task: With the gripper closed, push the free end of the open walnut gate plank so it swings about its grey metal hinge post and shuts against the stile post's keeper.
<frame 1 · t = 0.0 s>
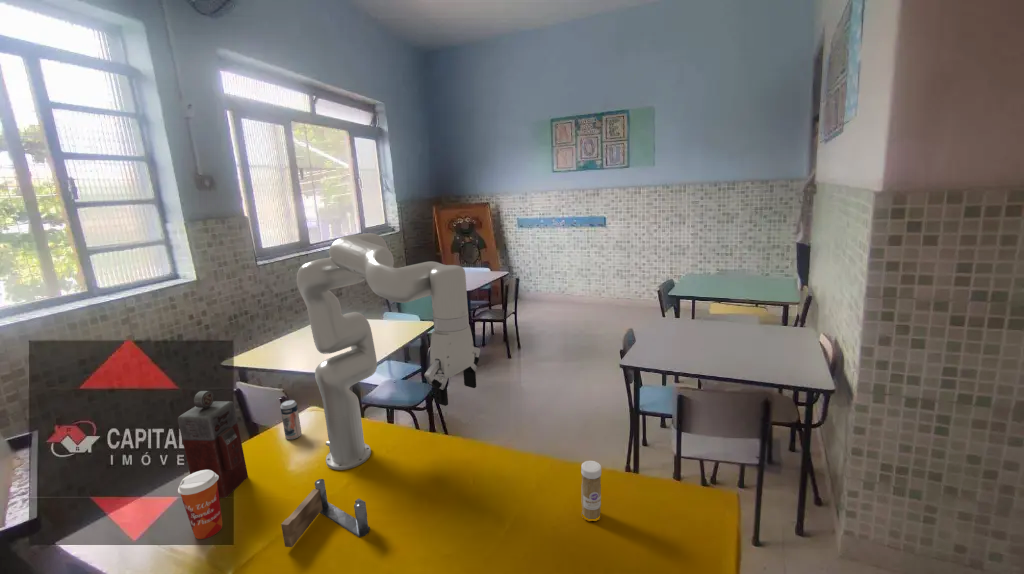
hand: (456, 395, 101), 31 cm above the table, fingers open, 9 cm apart
gate posts: (323, 508, 112), on the table
sprinkles bottle: (591, 516, 106), on the table
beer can: (293, 437, 146), on the table
gate: (303, 516, 104), point 4 cm above the table, hinge at -65.0°
vintage gas pump: (226, 487, 122), on the table
paper cup: (209, 530, 106), on the table
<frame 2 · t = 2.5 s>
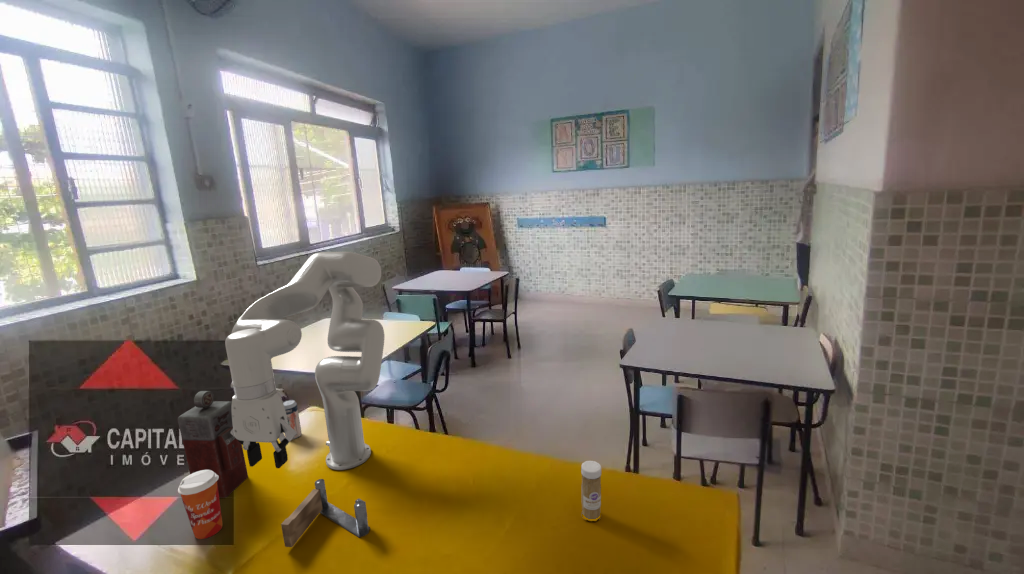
hand: (268, 462, 98), 20 cm above the table, fingers open, 5 cm apart
nothing on the table moved.
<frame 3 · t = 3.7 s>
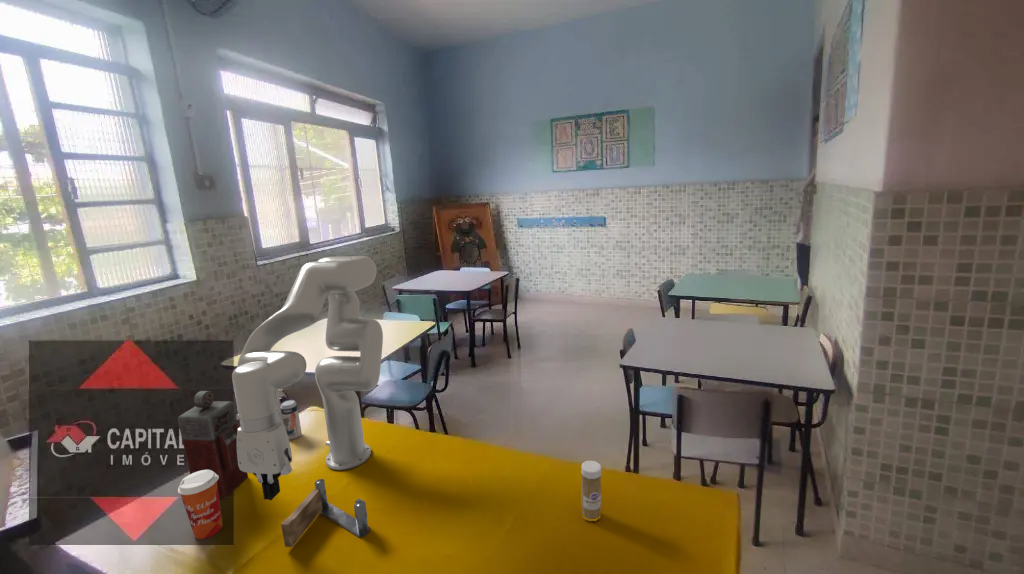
hand: (272, 495, 99), 12 cm above the table, fingers closed
nothing on the table moved.
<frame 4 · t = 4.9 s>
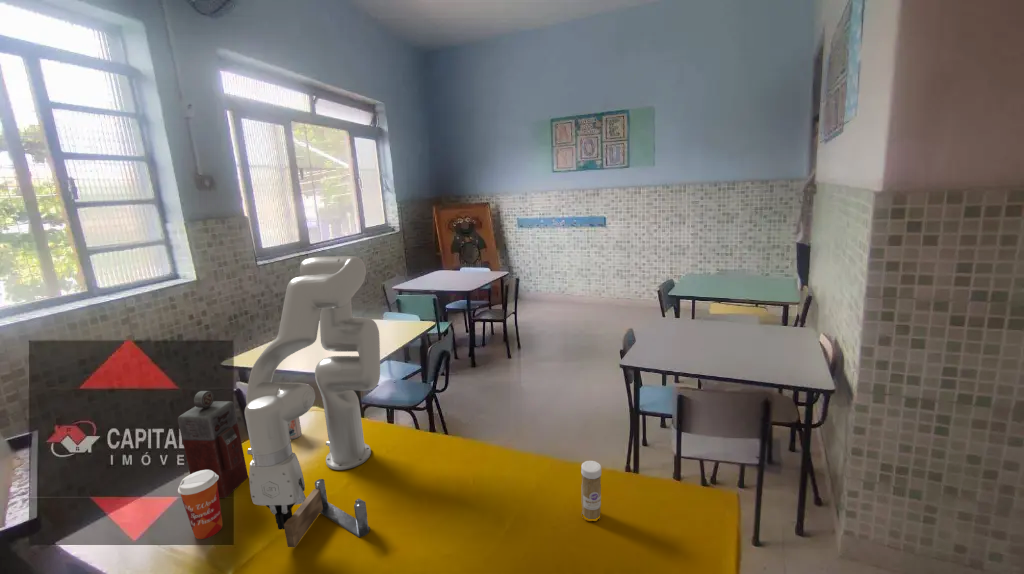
hand: (285, 524, 101), 4 cm above the table, fingers closed
gate: (304, 516, 104), point 4 cm above the table, hinge at -62.1°, touching gripper
everything else where it was.
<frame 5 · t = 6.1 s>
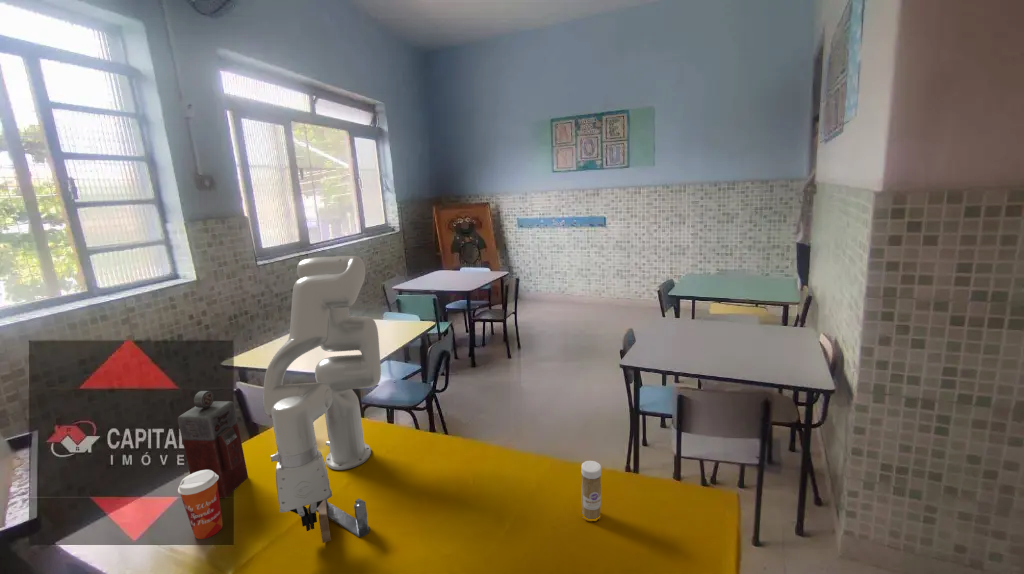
hand: (310, 526, 101), 4 cm above the table, fingers closed
gate: (323, 513, 105), point 4 cm above the table, hinge at -30.1°, touching gripper
everything else where it was.
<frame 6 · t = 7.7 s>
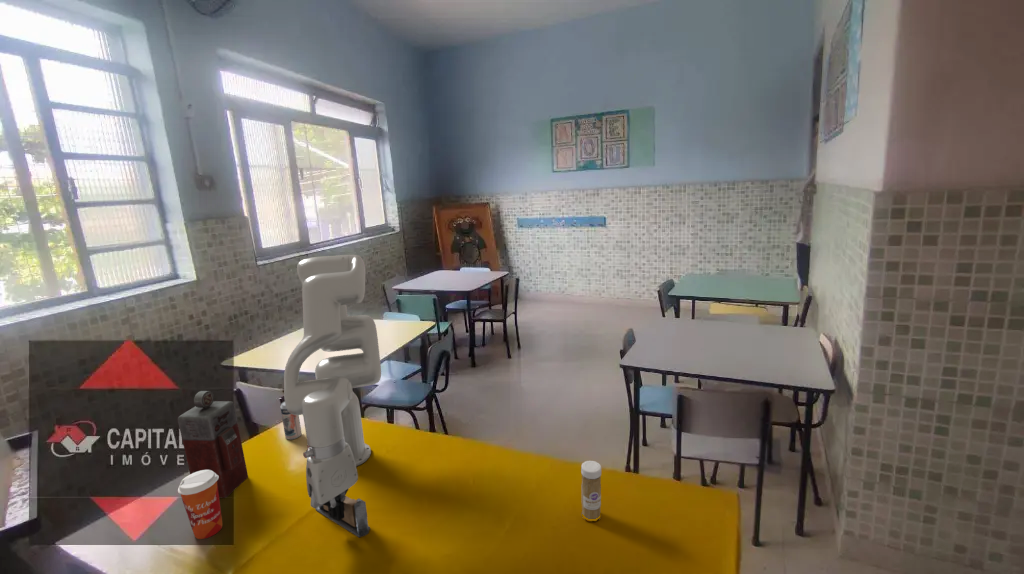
hand: (337, 517, 103), 4 cm above the table, fingers closed
gate: (340, 505, 107), point 4 cm above the table, hinge at 0.6°, touching gate posts, gripper
everything else where it was.
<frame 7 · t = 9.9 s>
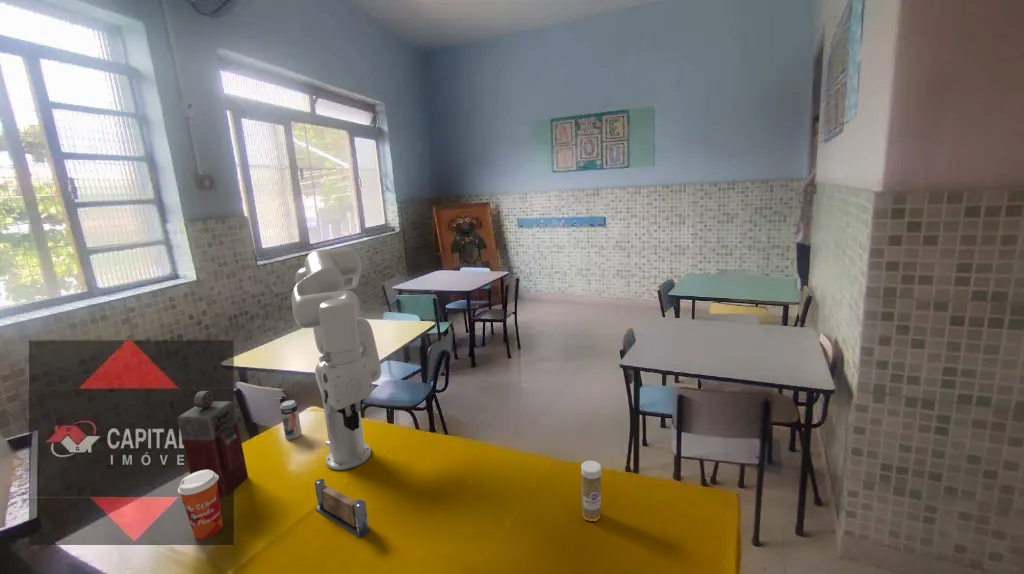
hand: (352, 427, 104), 23 cm above the table, fingers closed
gate: (340, 505, 107), point 4 cm above the table, hinge at 0.6°
everything else where it was.
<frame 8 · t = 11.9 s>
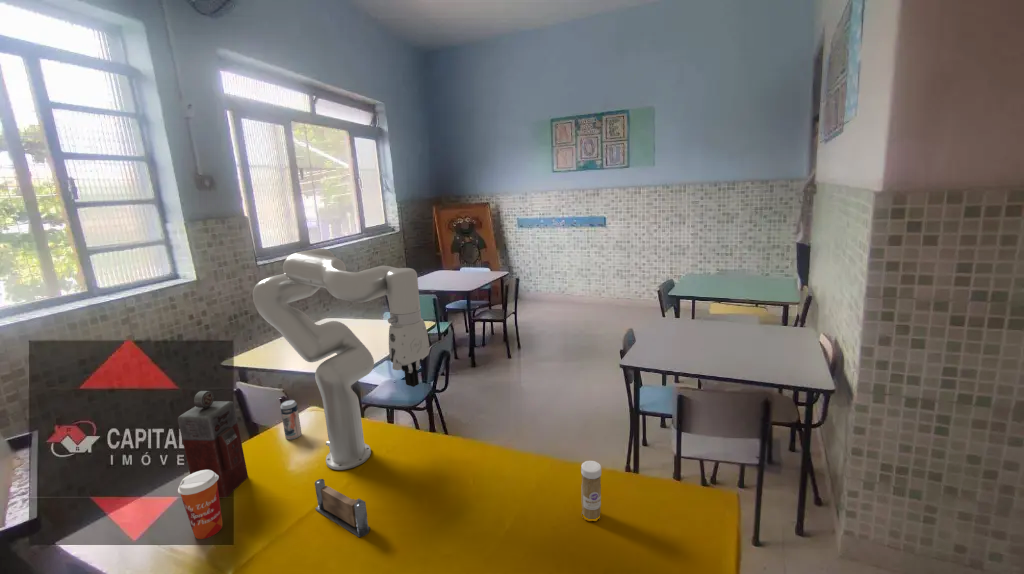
hand: (412, 384, 117), 27 cm above the table, fingers closed
nothing on the table moved.
at the end: gate at +1° (first picture: -65°) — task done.
